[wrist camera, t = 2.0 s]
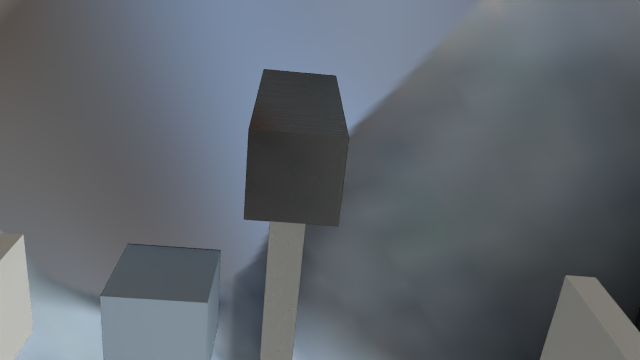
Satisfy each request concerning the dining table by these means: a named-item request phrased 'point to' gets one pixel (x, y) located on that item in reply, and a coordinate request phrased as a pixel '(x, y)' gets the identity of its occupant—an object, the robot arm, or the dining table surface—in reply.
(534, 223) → the dining table surface
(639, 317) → the mug
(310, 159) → the dark grey angular block
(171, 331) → the cube
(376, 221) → the dining table surface
